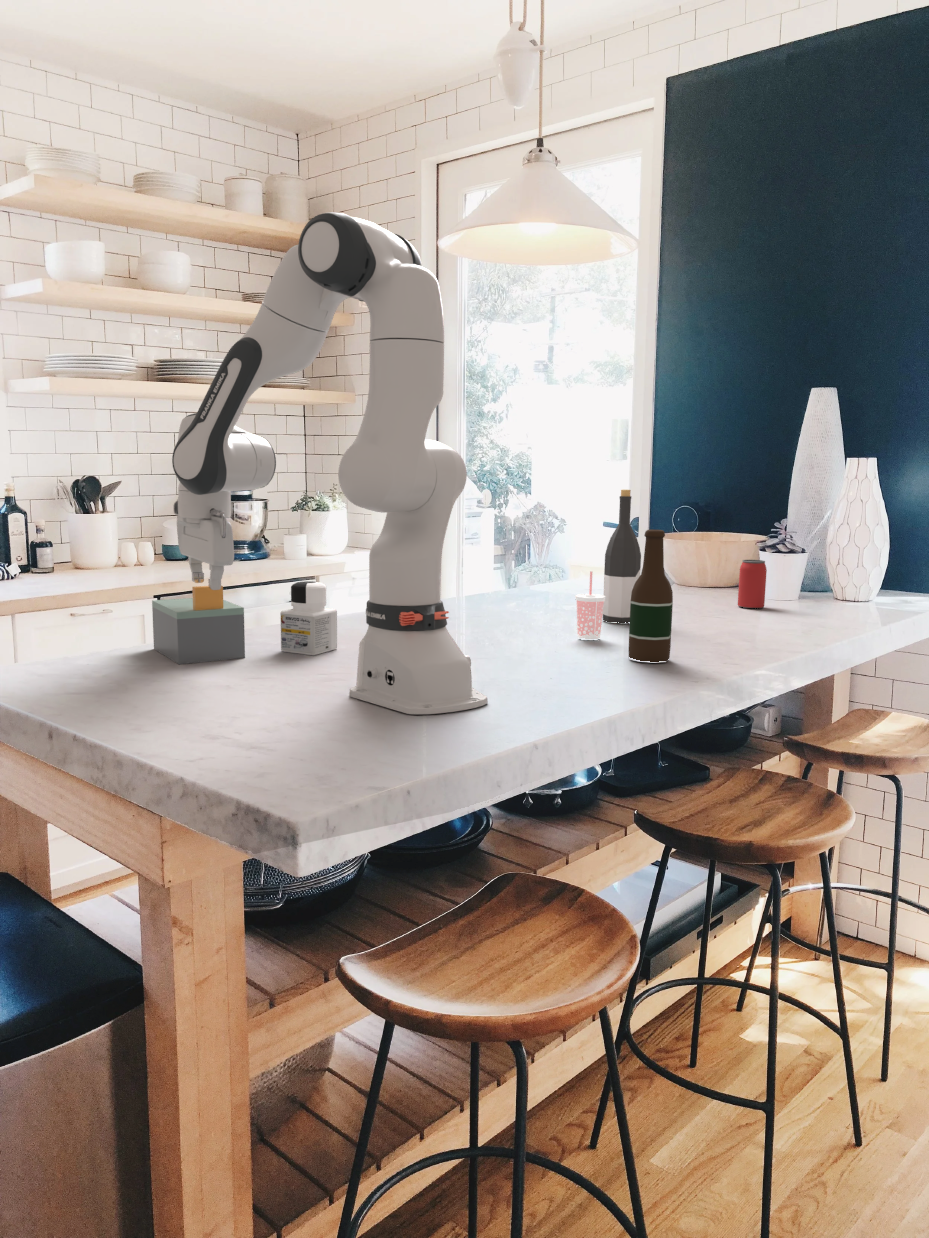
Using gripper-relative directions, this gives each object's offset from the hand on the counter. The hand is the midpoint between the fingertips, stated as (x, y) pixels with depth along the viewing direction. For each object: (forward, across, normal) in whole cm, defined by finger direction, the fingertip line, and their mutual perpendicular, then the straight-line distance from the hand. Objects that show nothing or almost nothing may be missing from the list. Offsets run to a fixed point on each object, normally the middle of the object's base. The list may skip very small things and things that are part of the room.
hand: (206, 585), depth 170 cm
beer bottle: (+12, -39, -70) cm, 81 cm away
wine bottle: (+13, -3, -95) cm, 96 cm away
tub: (+13, +6, 0) cm, 15 cm away
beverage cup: (+13, -17, -74) cm, 77 cm away
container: (+13, -1, -19) cm, 24 cm away
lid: (+5, +6, 0) cm, 8 cm away
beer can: (+12, -2, -140) cm, 141 cm away
